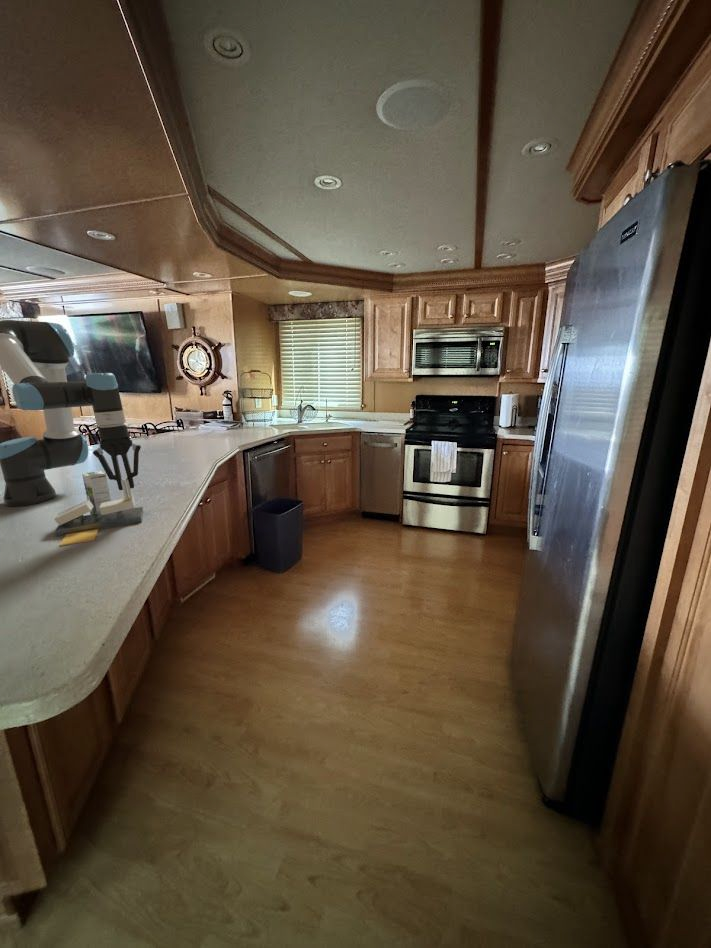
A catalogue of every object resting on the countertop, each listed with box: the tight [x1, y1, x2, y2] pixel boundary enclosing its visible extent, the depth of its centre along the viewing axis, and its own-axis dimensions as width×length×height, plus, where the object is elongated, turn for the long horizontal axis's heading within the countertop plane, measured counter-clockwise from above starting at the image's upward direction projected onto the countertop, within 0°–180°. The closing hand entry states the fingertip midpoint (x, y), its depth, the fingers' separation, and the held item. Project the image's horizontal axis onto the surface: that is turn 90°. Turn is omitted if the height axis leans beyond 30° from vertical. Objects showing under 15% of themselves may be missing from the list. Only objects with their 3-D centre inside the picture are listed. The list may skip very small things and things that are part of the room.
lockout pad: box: [59, 529, 100, 547], centre depth 109 cm, size 8×8×1 cm
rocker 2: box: [99, 496, 136, 515], centre depth 119 cm, size 5×9×3 cm, turn 116°
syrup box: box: [81, 470, 112, 515], centre depth 125 cm, size 6×6×14 cm
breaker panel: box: [54, 506, 144, 537], centre depth 118 cm, size 10×22×4 cm, turn 116°
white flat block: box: [53, 500, 93, 526], centre depth 115 cm, size 5×9×2 cm, turn 116°
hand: (129, 498), depth 120 cm, fingers closed, pressing on rocker 2
